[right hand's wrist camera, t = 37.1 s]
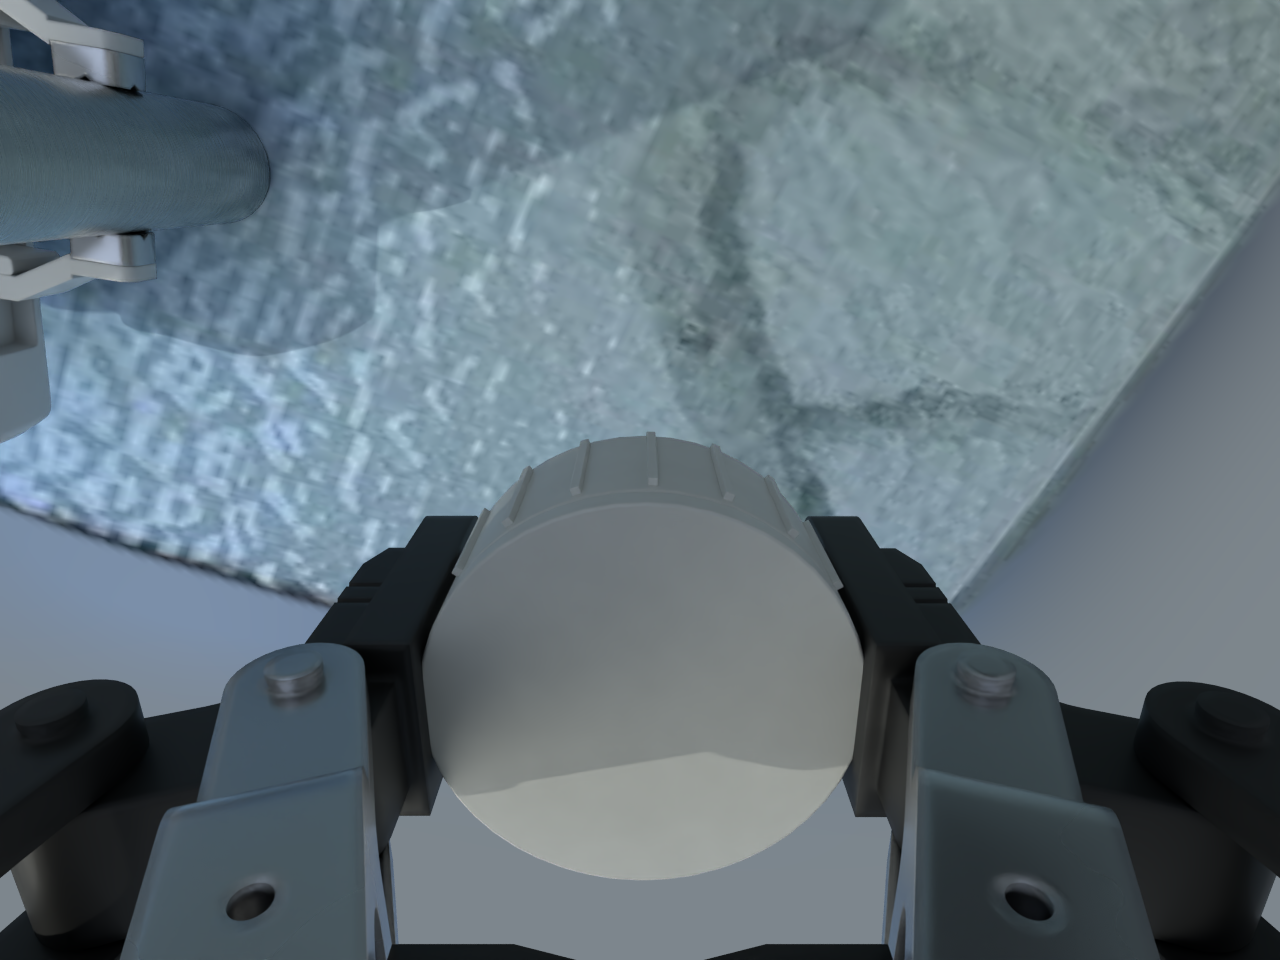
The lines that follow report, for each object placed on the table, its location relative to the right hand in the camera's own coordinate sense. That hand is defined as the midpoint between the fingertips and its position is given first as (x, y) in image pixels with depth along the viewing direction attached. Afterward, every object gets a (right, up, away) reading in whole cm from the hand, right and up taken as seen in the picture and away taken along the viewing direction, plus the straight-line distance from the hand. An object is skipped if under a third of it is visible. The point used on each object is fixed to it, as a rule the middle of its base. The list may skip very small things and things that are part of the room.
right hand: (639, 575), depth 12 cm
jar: (-16, +14, +18) cm, 28 cm away
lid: (0, -1, -3) cm, 3 cm away
